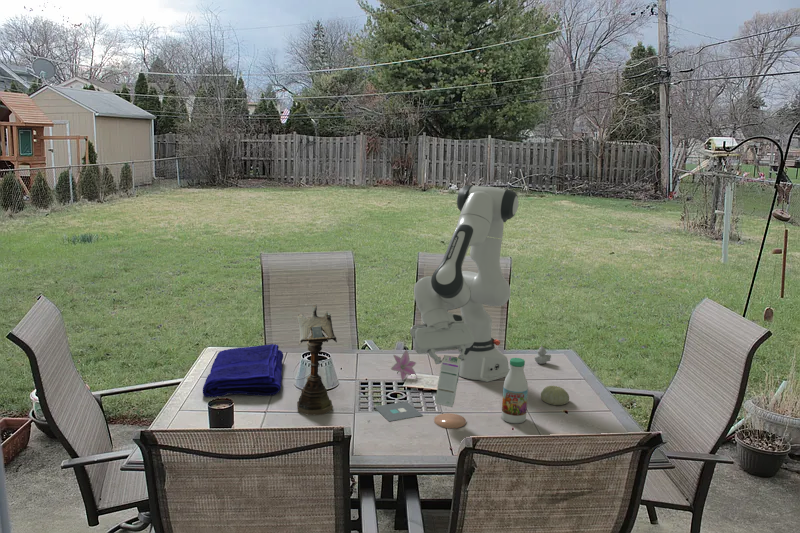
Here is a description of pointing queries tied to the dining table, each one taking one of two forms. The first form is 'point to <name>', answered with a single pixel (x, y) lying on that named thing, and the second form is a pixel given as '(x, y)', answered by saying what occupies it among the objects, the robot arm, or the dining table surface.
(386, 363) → the dining table surface
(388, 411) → the tile
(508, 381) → the milk bottle
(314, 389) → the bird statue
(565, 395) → the sea urchin shell
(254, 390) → the towel
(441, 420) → the coaster
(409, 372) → the lily
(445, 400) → the syrup box
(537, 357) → the grey figurine
